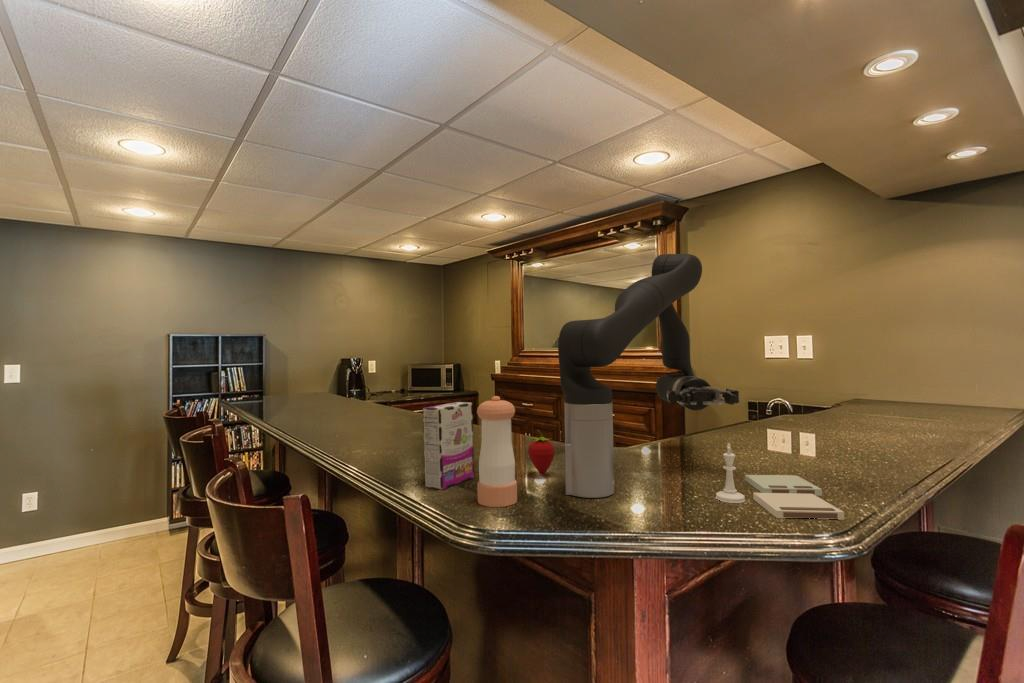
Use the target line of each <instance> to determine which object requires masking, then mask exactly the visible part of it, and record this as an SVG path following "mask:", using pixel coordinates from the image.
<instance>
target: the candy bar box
mask: <svg viewBox="0 0 1024 683" xmlns="http://www.w3.org/2000/svg"><path fill="white" fill-rule="evenodd" d="M473 418H474V416H473V402H468V401H467V402H466V401H456V402H450V403H449V402H448V403H444V404H438V405H433V406H428V407H427V406H426V407H423V408H422V421H423V423H422V424H423V457H424V458H423V460H424V487H425V488H426V489H427V488H428V489H433V490H434V489H435V490H446V489H448V488H451V487H454V486H456V485H458V484H461V483H464V482H466V481H468V480H471V479H473V478H475V461H474V460H475V459H474V458H475V457H474V428H473V427H474V426H473V424H474V423H473Z"/></svg>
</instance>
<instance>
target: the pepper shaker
mask: <svg viewBox="0 0 1024 683" xmlns="http://www.w3.org/2000/svg"><path fill="white" fill-rule="evenodd" d="M476 414H477V416H478V418H480V420H481V444H480V453H479V458H478V472H479V473H478V475H479V476H478V477H479V480H478V481H477V484H476V485H477V486H476V488H477V489H476V490H477V495H476V496H477V503H478V504H479V505H481V506H484V507H490V508H500V507H502V508H503V507H508V506H512V505H515V504H516V503H517V502H518V480H516V477H515V476H516V459H515V454H514V449H513V442H512V418H514V417H515V416H514V415H515V414H516V408H515V405H514V404H513V403H511V402H510V401H507V400H501V397H500V396H498V395H494V396H492V397H491V400H485V401H483V402H482V403H480V404H479V406H478V407H477V409H476Z"/></svg>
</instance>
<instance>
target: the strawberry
mask: <svg viewBox="0 0 1024 683" xmlns="http://www.w3.org/2000/svg"><path fill="white" fill-rule="evenodd" d="M537 431H538V432H540V430H539V429H537ZM527 439H528V440H532V442H530V443H529V445H528V451H527V453H528V456H529V460H530V461H531V463H532V465H533V466H534V468H535V469H536V470H537V472H538V473H539V475H540V476H545V474H546V473H547V471H548V469H549V468H550V466H551V465H552V462H553V461H554V458H555V452H556V450H555V446H554V444H552V442H551V441H552V439H553V437H544V436H543V434H541V436H540V437H528V438H527Z"/></svg>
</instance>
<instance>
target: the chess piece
mask: <svg viewBox="0 0 1024 683" xmlns="http://www.w3.org/2000/svg"><path fill="white" fill-rule="evenodd" d="M726 444H727V446H726V449H727V452H724V453H723V454H722V456H723V459H724V463H725V464H726V465H723V469H724V470H726V475H725V485H724V488H723V489H722V490H721V491H717V492H715V499H716V500H717V499H718V501H719V500H720V502H723V503H728V504H742V503H745V502H746V497H745V495H744V494H742V493H740V492H738V490H737V489H736V487H735V486H736V485H735V482H734V481H735V480H734V472H733V471H735V470H737V468H736V467H735V465H733V464H734V460H735V458H736V454H734V453H733V452H731V450H732V449H731V443H726Z"/></svg>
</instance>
